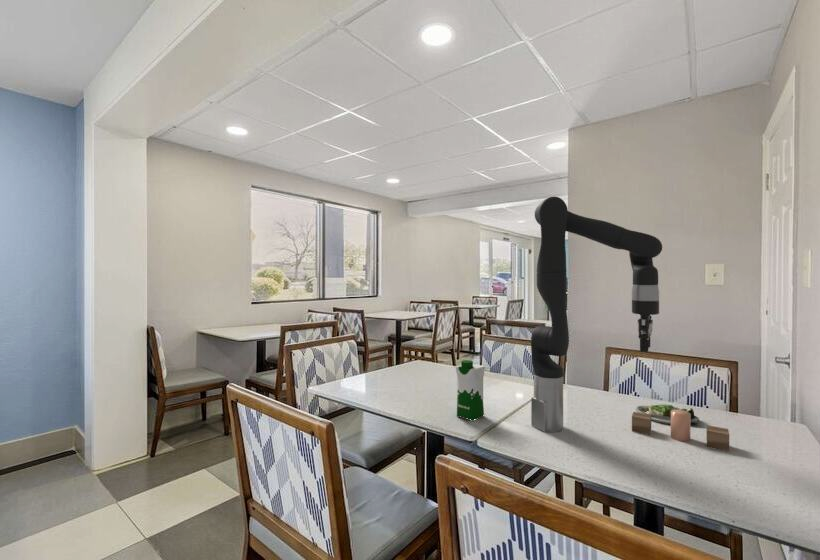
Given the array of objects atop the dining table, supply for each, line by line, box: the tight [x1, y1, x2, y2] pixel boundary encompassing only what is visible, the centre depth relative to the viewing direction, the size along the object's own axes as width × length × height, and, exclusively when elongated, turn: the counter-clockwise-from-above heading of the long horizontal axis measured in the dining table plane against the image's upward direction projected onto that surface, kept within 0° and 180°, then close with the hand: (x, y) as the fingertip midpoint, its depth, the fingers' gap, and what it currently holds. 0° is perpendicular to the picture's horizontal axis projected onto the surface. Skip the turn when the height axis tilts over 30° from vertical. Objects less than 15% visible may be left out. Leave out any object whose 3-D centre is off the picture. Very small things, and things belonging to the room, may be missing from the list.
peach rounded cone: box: [670, 410, 692, 443], centre depth 119 cm, size 5×5×8 cm
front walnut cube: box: [705, 424, 730, 452], centre depth 114 cm, size 5×5×5 cm
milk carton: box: [455, 359, 486, 420], centre depth 139 cm, size 9×9×20 cm
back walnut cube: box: [631, 411, 652, 436], centre depth 126 cm, size 5×5×5 cm
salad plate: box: [635, 403, 702, 425], centre depth 137 cm, size 19×18×5 cm
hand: (645, 349), depth 125 cm, fingers open, 8 cm apart
